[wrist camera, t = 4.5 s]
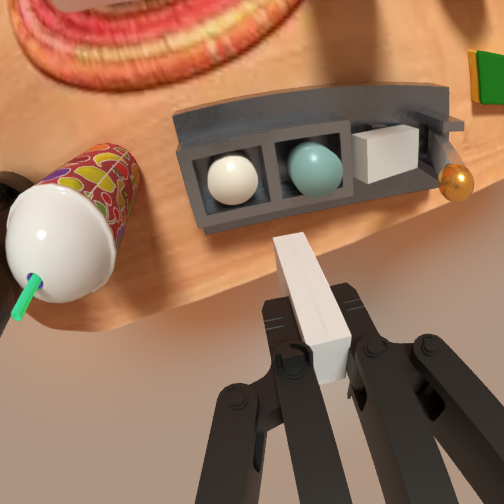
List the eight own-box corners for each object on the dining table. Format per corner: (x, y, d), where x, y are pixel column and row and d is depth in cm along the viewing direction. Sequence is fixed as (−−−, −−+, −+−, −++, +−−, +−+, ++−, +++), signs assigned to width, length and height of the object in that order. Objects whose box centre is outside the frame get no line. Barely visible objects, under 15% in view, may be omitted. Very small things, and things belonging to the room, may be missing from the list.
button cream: (213, 197, 27) (214, 209, 25) (202, 155, 25) (202, 164, 22) (257, 187, 27) (261, 199, 25) (249, 145, 25) (253, 153, 23)
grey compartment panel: (205, 220, 32) (205, 258, 26) (175, 111, 25) (165, 123, 20) (430, 177, 32) (465, 201, 27) (432, 83, 26) (474, 94, 20)
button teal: (289, 189, 25) (296, 202, 23) (282, 145, 23) (290, 153, 21) (332, 181, 25) (343, 193, 23) (329, 138, 23) (341, 145, 21)
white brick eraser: (353, 176, 26) (367, 184, 24) (351, 134, 23) (366, 139, 22) (403, 161, 27) (417, 167, 26) (403, 124, 25) (418, 128, 23)
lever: (420, 153, 28) (438, 210, 19) (421, 124, 26) (443, 166, 17) (445, 156, 27) (474, 214, 17) (447, 127, 25) (481, 171, 16)
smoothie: (127, 222, 31) (71, 384, 14) (64, 185, 27) (-40, 321, 11) (166, 158, 28) (112, 304, 11) (97, 117, 24) (-42, 212, 8)
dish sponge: (520, 101, 27) (531, 106, 25) (469, 100, 27) (482, 104, 25) (518, 59, 23) (530, 61, 21) (465, 48, 23) (478, 50, 21)
